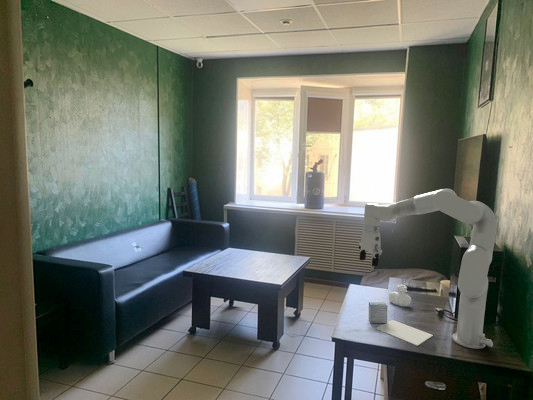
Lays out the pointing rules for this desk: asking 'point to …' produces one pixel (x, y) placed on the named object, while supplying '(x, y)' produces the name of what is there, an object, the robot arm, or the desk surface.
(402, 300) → the bust
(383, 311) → the medicine box
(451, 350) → the desk surface
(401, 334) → the mat
